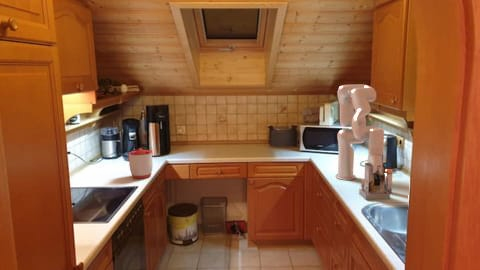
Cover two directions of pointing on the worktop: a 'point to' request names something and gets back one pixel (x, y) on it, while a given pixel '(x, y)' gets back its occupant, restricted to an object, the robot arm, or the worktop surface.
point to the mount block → (362, 183)
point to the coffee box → (369, 180)
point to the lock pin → (388, 180)
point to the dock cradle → (374, 195)
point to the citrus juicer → (140, 163)
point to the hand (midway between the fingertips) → (374, 183)
